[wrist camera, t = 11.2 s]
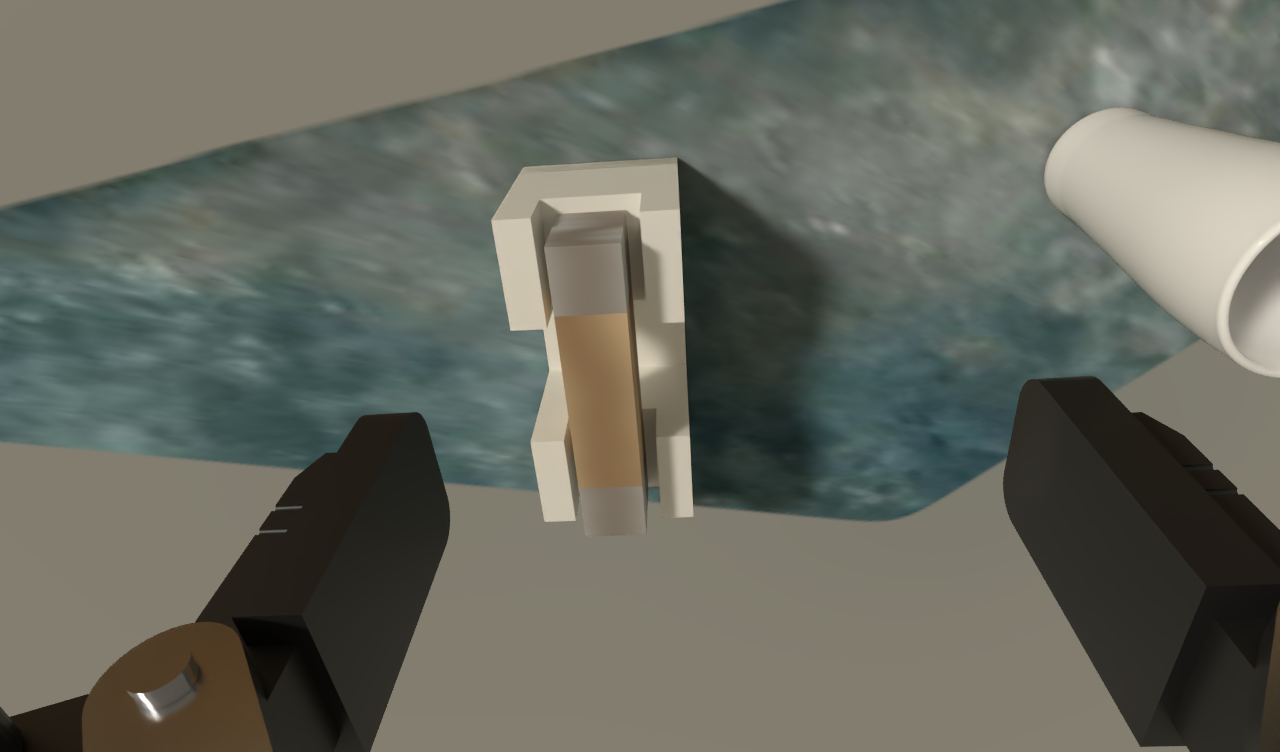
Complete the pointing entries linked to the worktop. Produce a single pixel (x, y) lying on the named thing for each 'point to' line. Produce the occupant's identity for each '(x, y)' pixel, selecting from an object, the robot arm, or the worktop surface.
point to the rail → (600, 367)
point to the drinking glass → (1182, 221)
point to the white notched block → (656, 310)
